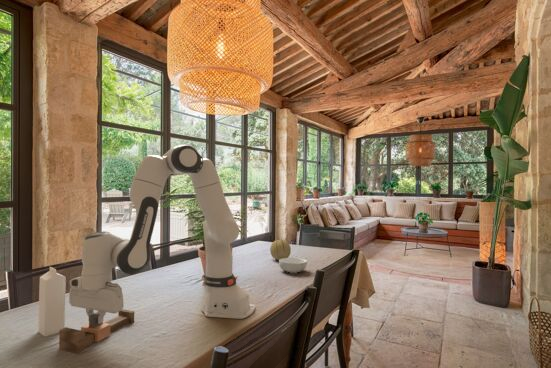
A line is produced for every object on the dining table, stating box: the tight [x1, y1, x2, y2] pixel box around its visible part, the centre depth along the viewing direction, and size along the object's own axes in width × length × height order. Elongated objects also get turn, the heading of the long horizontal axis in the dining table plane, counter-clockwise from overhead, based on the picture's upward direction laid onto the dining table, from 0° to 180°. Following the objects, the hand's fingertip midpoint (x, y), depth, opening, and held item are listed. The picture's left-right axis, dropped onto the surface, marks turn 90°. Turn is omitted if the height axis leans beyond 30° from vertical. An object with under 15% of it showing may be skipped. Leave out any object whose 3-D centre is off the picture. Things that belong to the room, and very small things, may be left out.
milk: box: [37, 266, 67, 337], centre depth 111 cm, size 6×6×22 cm
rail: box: [58, 308, 135, 355], centre depth 109 cm, size 8×24×6 cm, turn 162°
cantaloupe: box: [269, 238, 292, 261], centre depth 224 cm, size 15×15×15 cm
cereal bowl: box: [278, 257, 308, 274], centre depth 194 cm, size 17×17×7 cm
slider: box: [80, 311, 111, 343], centre depth 107 cm, size 7×5×8 cm
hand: (95, 322), depth 107 cm, fingers closed
